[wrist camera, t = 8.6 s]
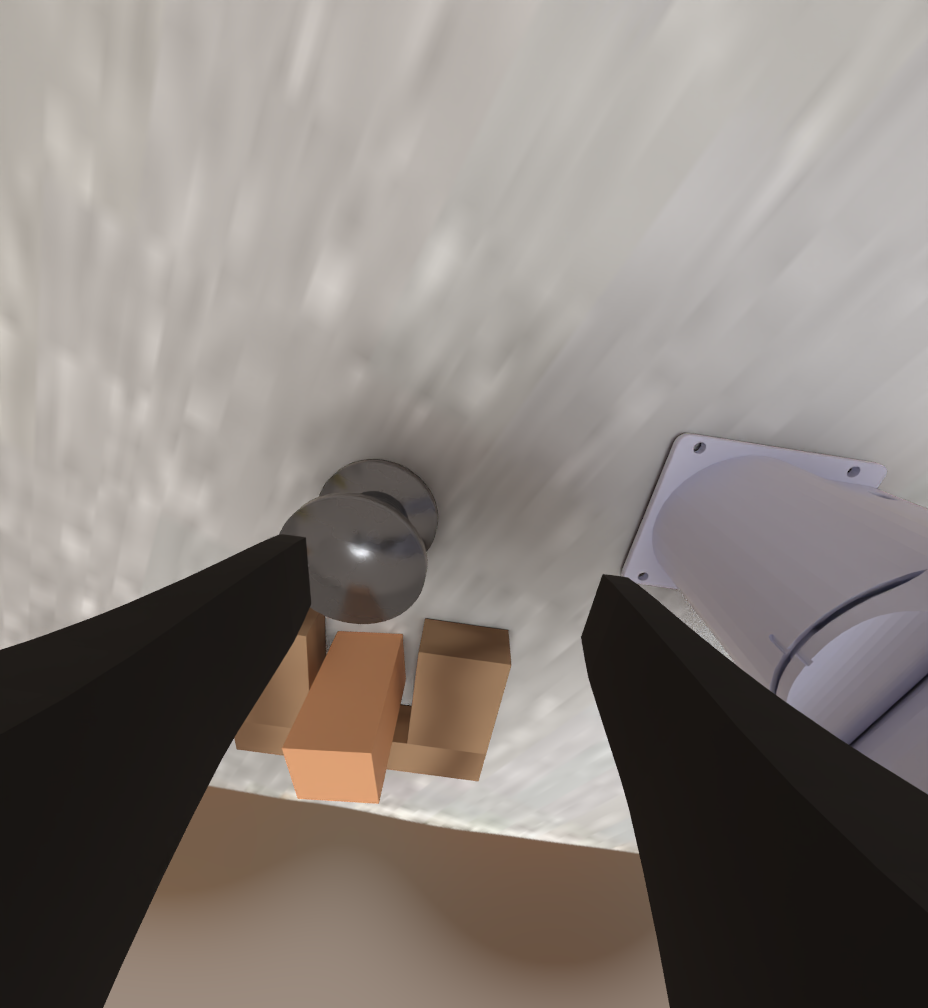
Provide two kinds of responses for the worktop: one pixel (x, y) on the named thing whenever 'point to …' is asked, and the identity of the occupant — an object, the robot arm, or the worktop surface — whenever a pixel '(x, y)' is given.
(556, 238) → the worktop surface
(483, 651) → the notched board
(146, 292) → the worktop surface
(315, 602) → the doorknob
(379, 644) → the brown block
